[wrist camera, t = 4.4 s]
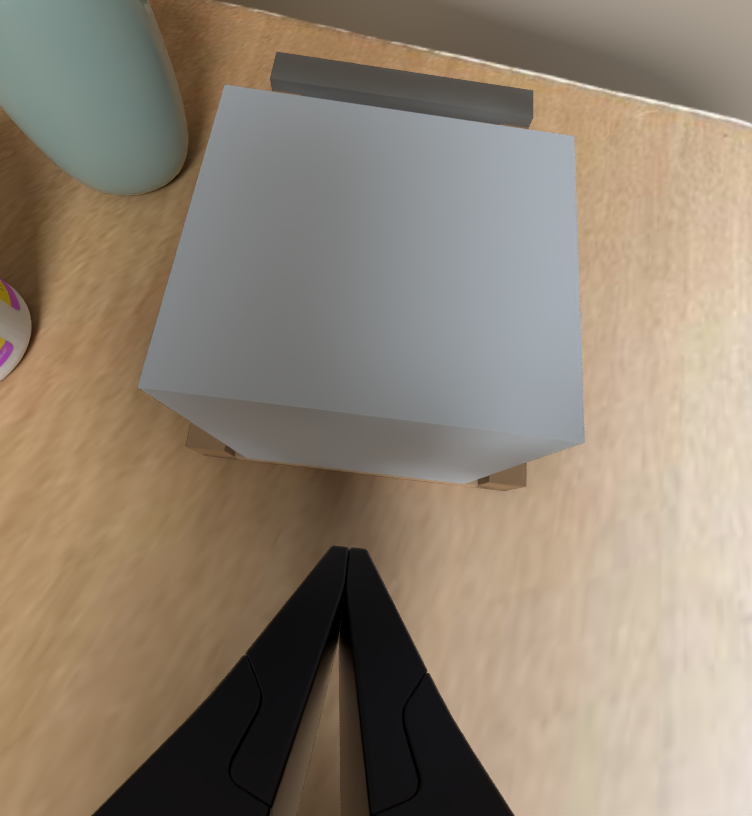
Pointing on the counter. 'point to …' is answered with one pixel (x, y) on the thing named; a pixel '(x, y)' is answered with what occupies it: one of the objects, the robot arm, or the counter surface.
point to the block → (375, 291)
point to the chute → (401, 95)
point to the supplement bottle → (12, 328)
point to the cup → (94, 90)
